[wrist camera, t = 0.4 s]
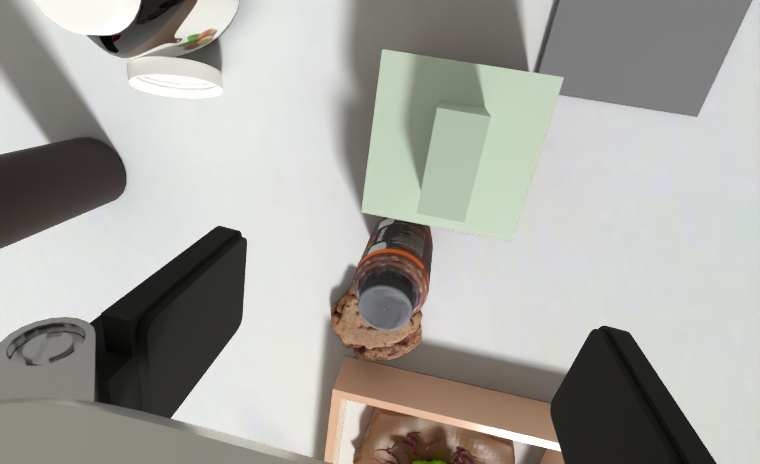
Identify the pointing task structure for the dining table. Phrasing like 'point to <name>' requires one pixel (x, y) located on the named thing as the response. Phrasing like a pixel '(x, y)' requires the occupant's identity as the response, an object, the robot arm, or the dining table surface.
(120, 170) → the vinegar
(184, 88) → the spread jar
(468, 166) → the lid
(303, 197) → the dining table surface
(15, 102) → the dining table surface
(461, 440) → the plant
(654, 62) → the mat
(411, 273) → the supplement bottle
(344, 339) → the cookie
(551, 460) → the wooden tray
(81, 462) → the robot arm
